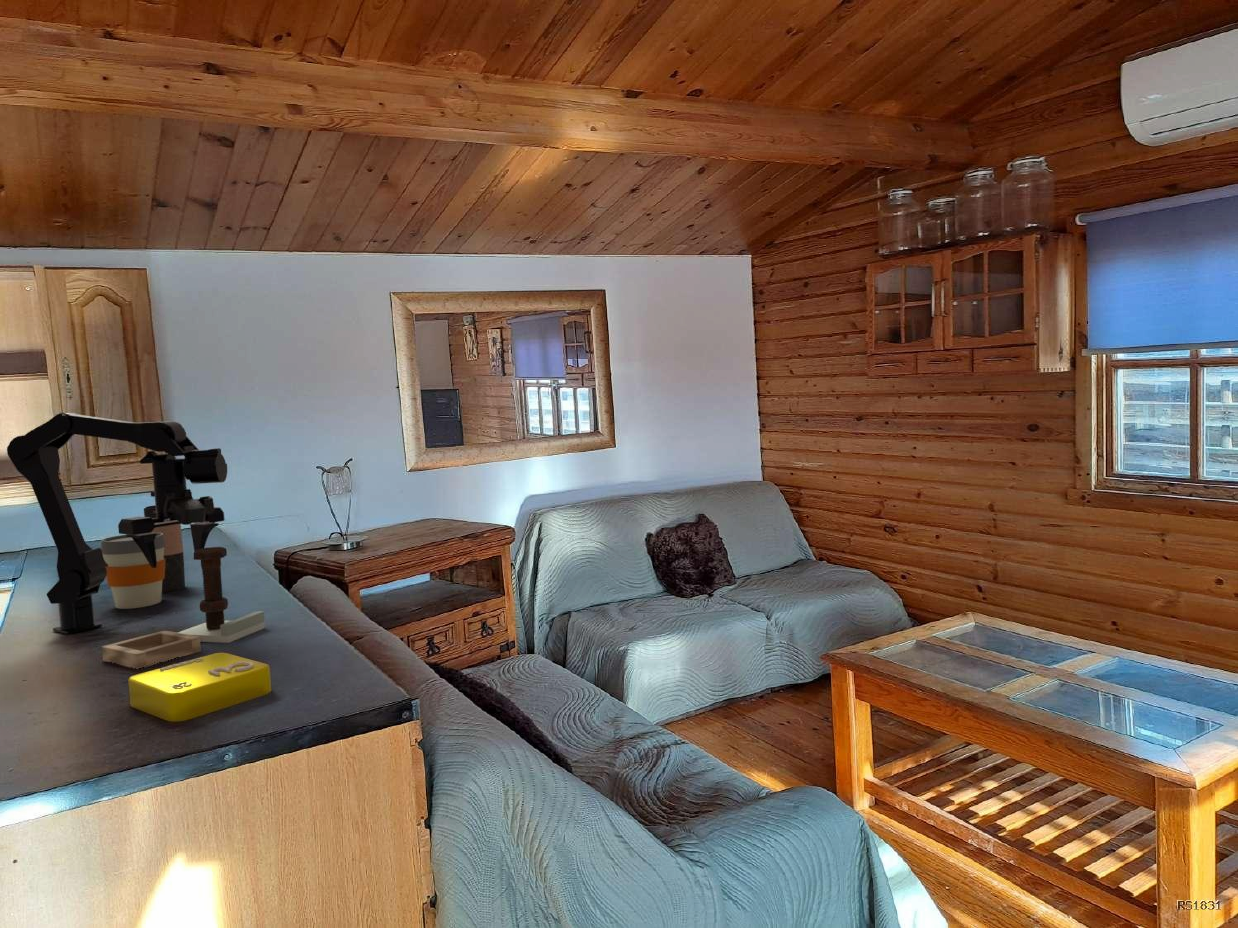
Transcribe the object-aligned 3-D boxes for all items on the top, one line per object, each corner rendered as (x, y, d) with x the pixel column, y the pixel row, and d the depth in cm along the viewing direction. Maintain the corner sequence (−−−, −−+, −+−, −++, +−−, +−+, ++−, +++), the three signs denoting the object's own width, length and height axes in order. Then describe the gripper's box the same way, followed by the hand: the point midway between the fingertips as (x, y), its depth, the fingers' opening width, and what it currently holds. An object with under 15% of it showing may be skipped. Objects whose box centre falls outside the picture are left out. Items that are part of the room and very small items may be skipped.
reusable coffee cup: (153, 594, 202) (147, 531, 201) (181, 600, 195) (175, 534, 194) (95, 606, 192) (89, 539, 191) (122, 613, 185) (116, 543, 183)
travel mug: (193, 586, 210) (186, 504, 209) (165, 593, 203) (157, 508, 202) (171, 584, 213) (164, 503, 212) (143, 591, 206) (135, 508, 205)
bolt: (226, 631, 161) (220, 550, 160) (197, 633, 160) (191, 552, 159) (233, 623, 166) (228, 545, 165) (205, 625, 165) (199, 547, 164)
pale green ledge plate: (173, 640, 160) (172, 623, 160) (212, 625, 170) (211, 609, 170) (228, 642, 157) (227, 625, 157) (265, 627, 167) (263, 611, 166)
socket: (103, 660, 149) (101, 646, 149) (165, 643, 158) (164, 630, 158) (138, 669, 143) (136, 654, 143) (201, 651, 152) (199, 637, 152)
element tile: (224, 677, 138) (222, 647, 138) (277, 693, 129) (275, 661, 129) (125, 706, 126) (122, 674, 126) (175, 726, 117) (172, 691, 117)
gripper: (145, 491, 159) (152, 575, 161) (237, 480, 175) (243, 557, 176) (113, 490, 165) (120, 571, 167) (205, 480, 181) (211, 554, 182)
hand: (176, 563), depth 173 cm, fingers open, 9 cm apart
